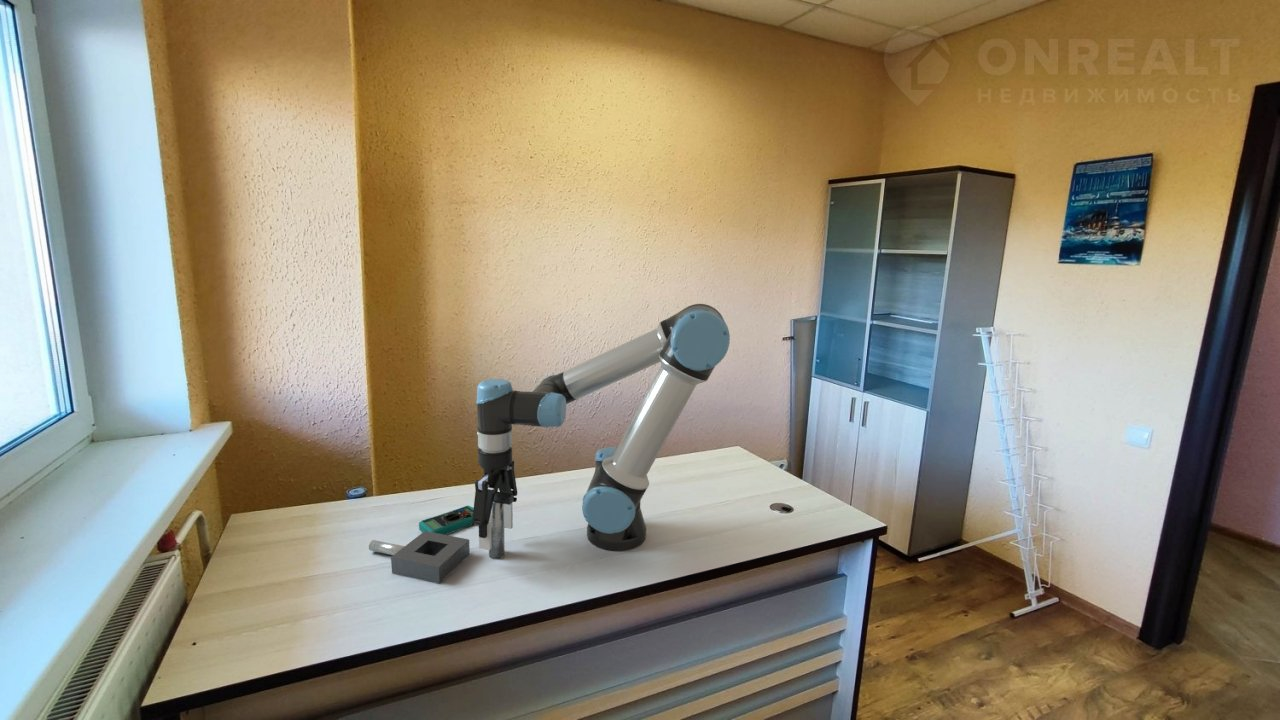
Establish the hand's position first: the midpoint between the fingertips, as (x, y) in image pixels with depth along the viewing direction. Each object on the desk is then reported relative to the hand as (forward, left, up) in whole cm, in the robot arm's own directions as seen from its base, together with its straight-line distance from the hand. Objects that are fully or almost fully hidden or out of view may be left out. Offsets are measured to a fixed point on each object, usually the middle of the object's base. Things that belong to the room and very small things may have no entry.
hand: (496, 537), depth 134 cm
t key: (0, 0, -5) cm, 5 cm away
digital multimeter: (+18, -9, -5) cm, 21 cm away
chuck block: (+17, +8, -5) cm, 19 cm away
